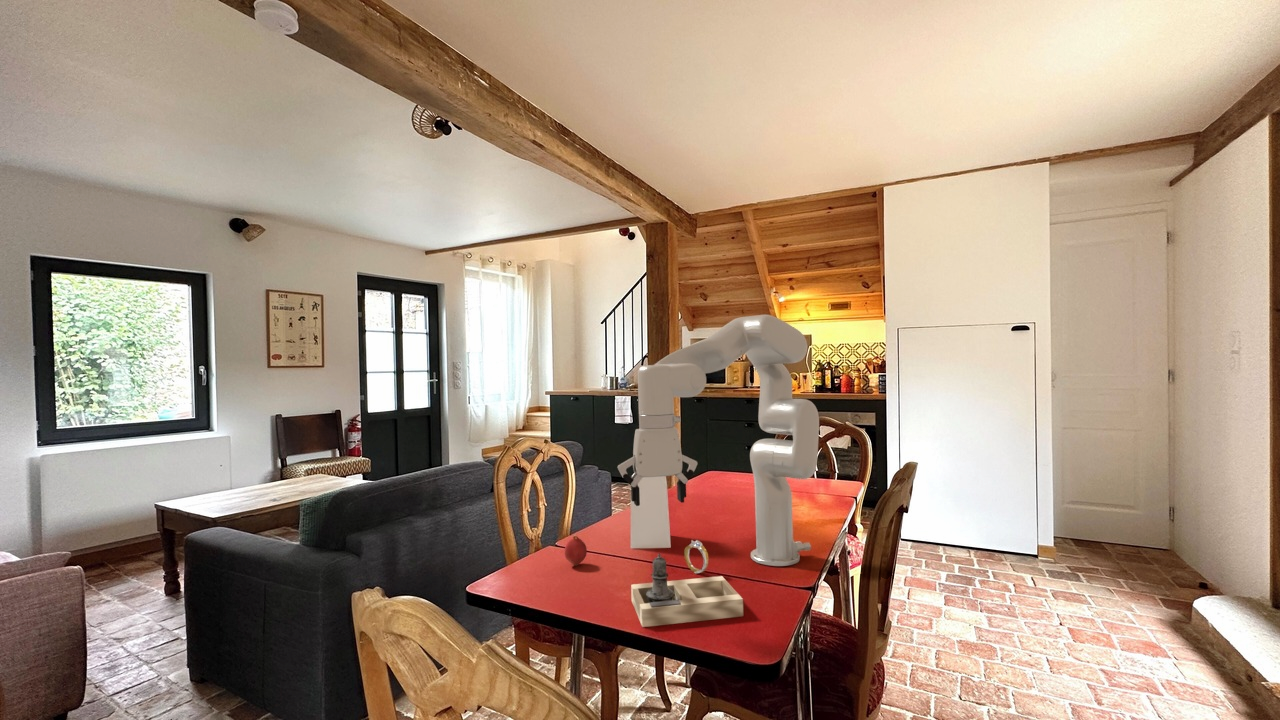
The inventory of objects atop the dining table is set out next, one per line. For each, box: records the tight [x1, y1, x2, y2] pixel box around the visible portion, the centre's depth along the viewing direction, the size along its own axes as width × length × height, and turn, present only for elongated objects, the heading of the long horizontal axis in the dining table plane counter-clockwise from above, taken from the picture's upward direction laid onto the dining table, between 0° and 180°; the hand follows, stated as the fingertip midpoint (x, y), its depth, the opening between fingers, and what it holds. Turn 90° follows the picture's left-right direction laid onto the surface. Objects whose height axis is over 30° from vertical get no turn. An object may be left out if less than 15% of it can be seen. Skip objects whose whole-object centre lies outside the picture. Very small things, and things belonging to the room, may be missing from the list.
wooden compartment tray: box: [630, 575, 744, 628], centre depth 118 cm, size 21×13×4 cm, turn 100°
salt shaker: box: [646, 553, 674, 603], centre depth 117 cm, size 6×6×12 cm
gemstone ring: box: [683, 539, 709, 574], centre depth 138 cm, size 7×3×8 cm, turn 38°
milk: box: [630, 472, 672, 549], centre depth 165 cm, size 12×12×26 cm
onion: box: [564, 534, 588, 567], centre depth 146 cm, size 6×6×8 cm
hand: (659, 502), depth 119 cm, fingers open, 9 cm apart
